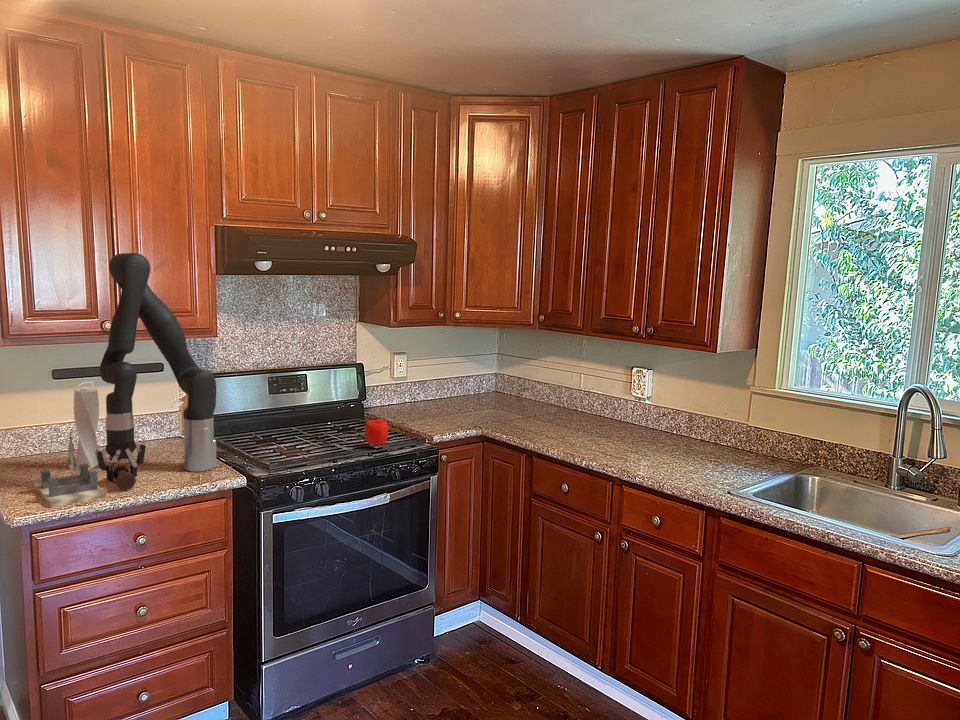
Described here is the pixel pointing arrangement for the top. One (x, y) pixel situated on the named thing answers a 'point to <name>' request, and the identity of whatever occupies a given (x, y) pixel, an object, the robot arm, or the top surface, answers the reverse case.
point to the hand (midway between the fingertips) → (122, 480)
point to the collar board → (68, 496)
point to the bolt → (123, 478)
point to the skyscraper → (85, 427)
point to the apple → (376, 432)
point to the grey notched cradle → (69, 482)
